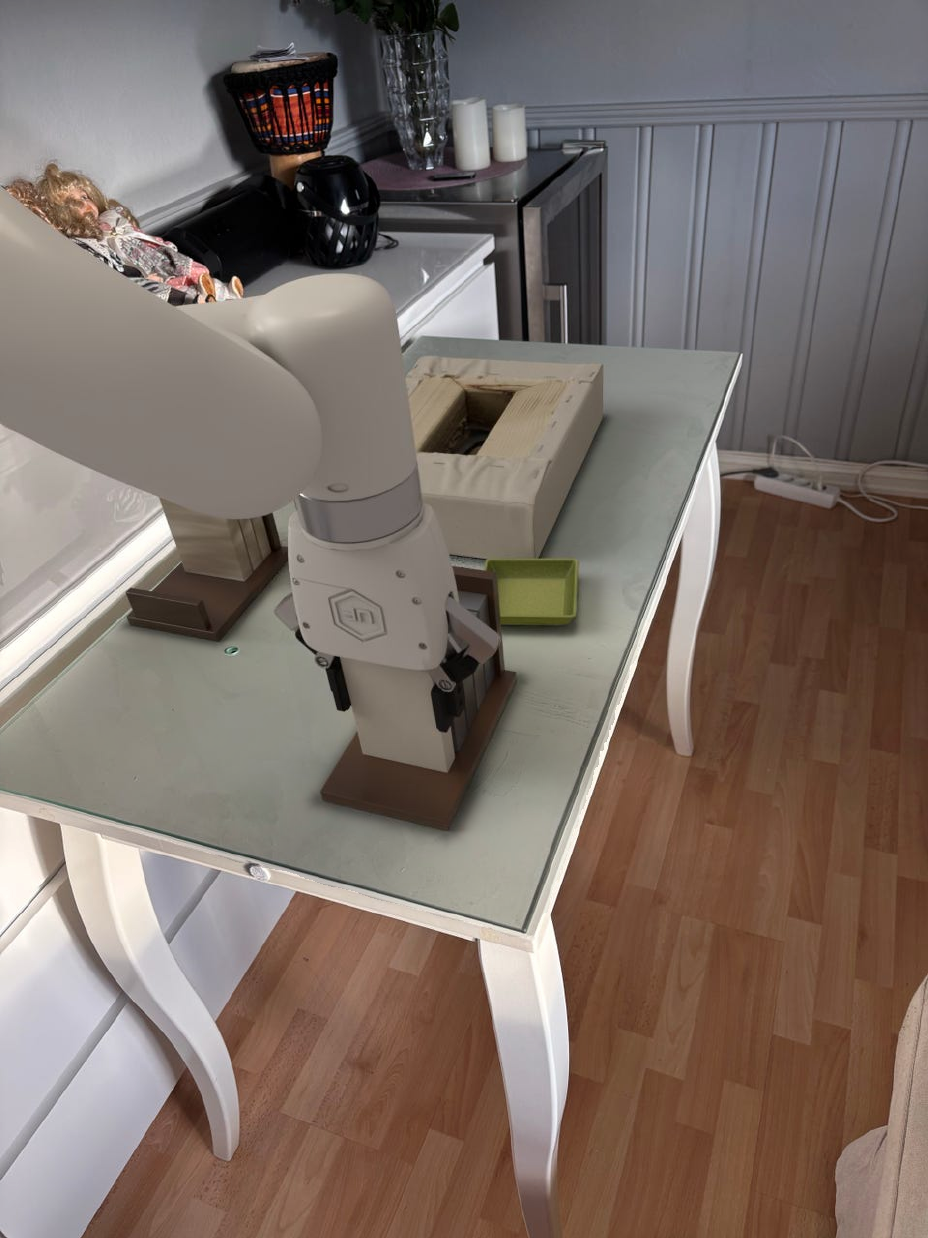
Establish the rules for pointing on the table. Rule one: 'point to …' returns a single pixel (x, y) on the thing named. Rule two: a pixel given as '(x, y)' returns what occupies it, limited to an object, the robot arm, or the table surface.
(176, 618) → the dark brown rack
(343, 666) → the cream book
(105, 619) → the table surface
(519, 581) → the green tray
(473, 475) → the box
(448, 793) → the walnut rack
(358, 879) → the table surface
